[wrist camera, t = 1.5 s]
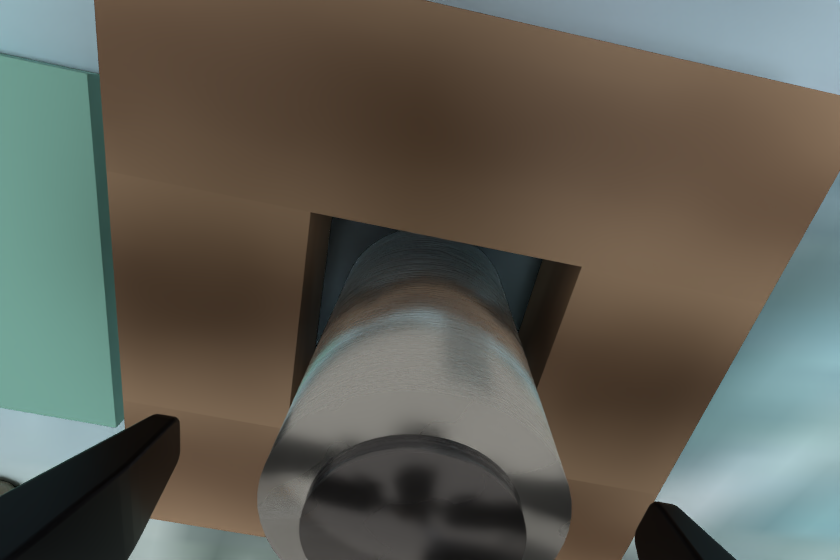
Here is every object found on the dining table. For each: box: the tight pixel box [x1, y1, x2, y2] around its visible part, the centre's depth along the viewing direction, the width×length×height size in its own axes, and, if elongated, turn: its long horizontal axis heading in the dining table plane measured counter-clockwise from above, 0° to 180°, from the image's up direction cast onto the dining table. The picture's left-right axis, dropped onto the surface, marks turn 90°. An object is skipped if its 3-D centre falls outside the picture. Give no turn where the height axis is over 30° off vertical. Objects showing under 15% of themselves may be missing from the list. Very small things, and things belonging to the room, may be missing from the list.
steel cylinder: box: [257, 231, 572, 560], centre depth 11 cm, size 5×5×8 cm
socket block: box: [94, 0, 840, 560], centre depth 14 cm, size 16×16×3 cm
